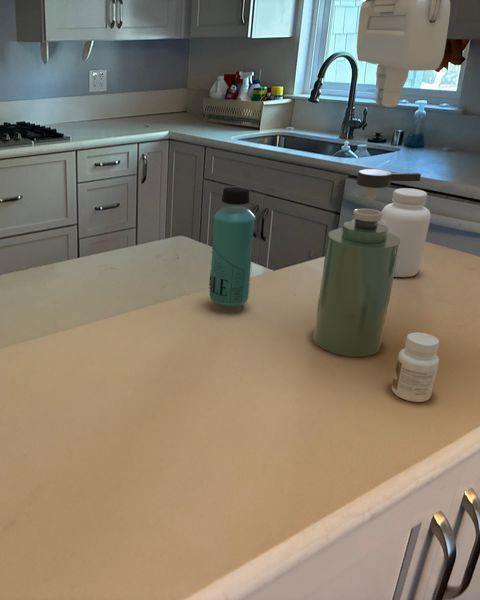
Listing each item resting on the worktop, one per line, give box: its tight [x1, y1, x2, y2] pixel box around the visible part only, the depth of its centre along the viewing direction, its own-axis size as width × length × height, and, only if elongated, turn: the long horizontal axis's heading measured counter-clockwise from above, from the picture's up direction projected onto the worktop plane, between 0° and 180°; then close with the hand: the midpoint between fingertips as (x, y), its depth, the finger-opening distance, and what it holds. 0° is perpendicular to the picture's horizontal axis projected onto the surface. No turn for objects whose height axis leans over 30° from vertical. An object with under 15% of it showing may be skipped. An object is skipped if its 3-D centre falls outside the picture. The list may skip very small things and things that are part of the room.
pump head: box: [355, 168, 422, 201], centre depth 80 cm, size 8×4×4 cm, turn 82°
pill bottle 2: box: [391, 331, 440, 403], centre depth 75 cm, size 4×4×8 cm
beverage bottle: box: [208, 185, 256, 307], centre depth 98 cm, size 6×7×20 cm
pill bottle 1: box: [381, 187, 432, 278], centre depth 111 cm, size 8×8×15 cm
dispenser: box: [312, 208, 401, 358], centre depth 86 cm, size 9×9×20 cm
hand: (386, 105), depth 76 cm, fingers closed
